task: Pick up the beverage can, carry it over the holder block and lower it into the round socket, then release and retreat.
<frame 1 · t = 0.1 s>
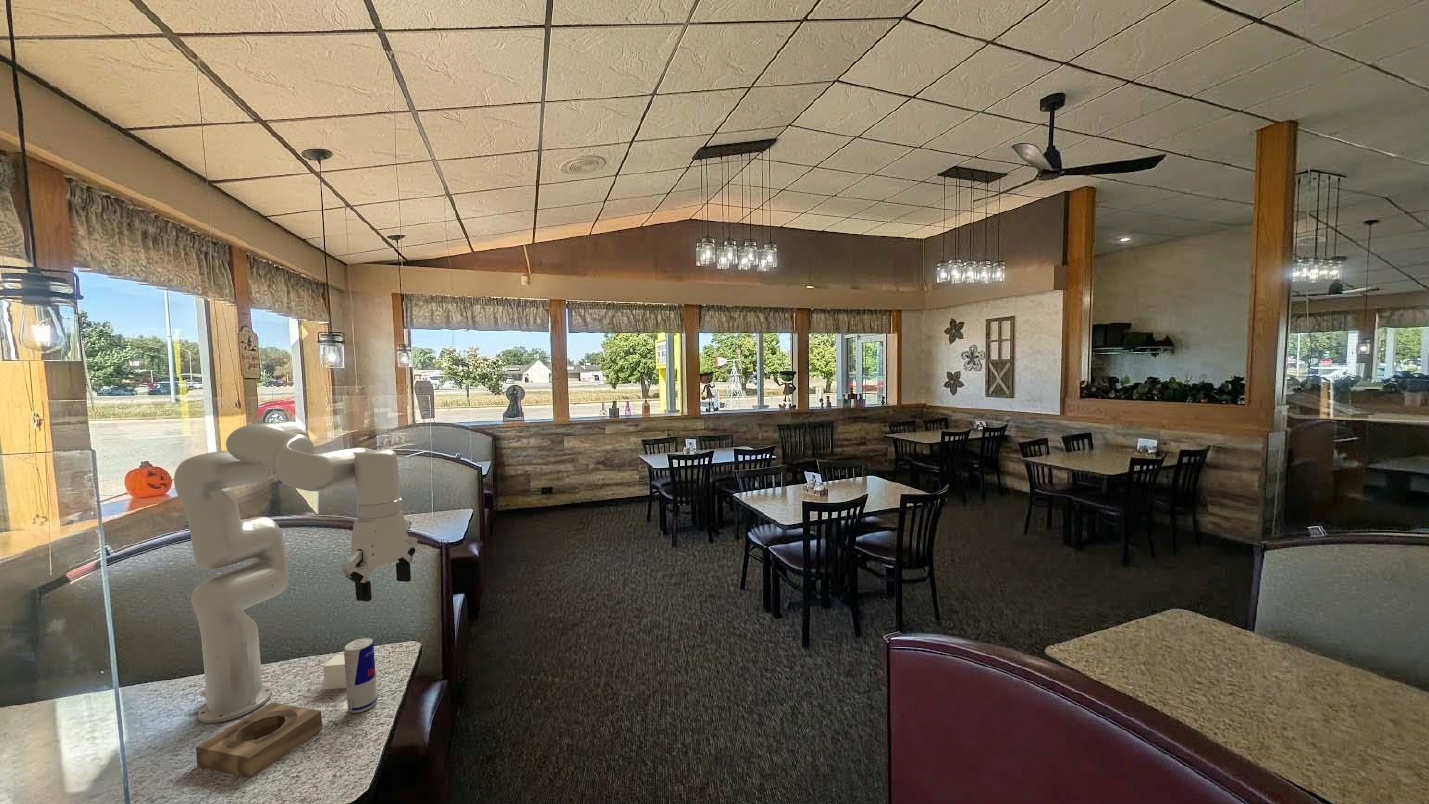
hand: (384, 590, 108), 31 cm above the table, fingers open, 9 cm apart
holder: (262, 746, 107), on the table
beverage can: (363, 707, 120), on the table
white cube: (346, 682, 129), on the table
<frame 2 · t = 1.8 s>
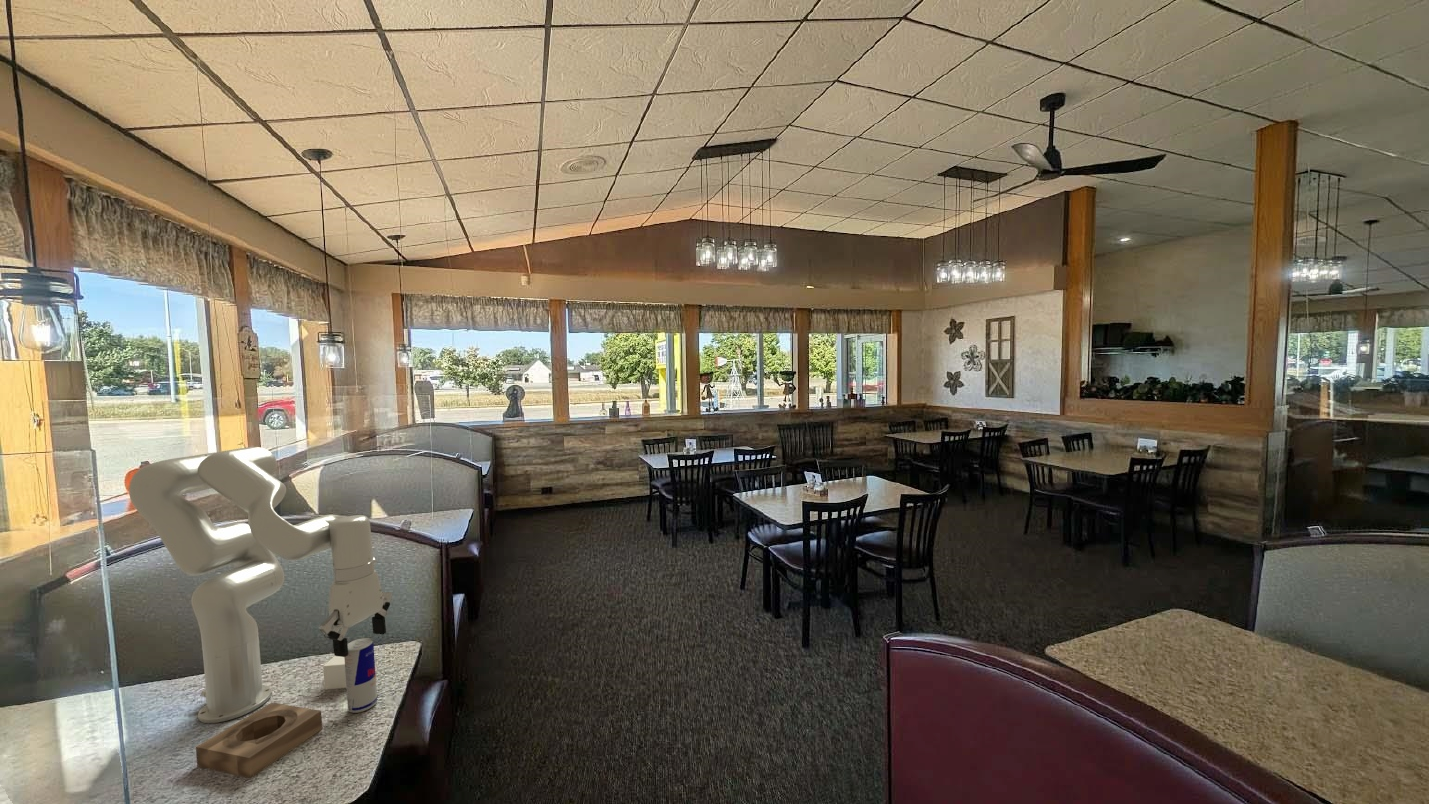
hand: (361, 644, 119), 15 cm above the table, fingers open, 9 cm apart
nothing on the table moved.
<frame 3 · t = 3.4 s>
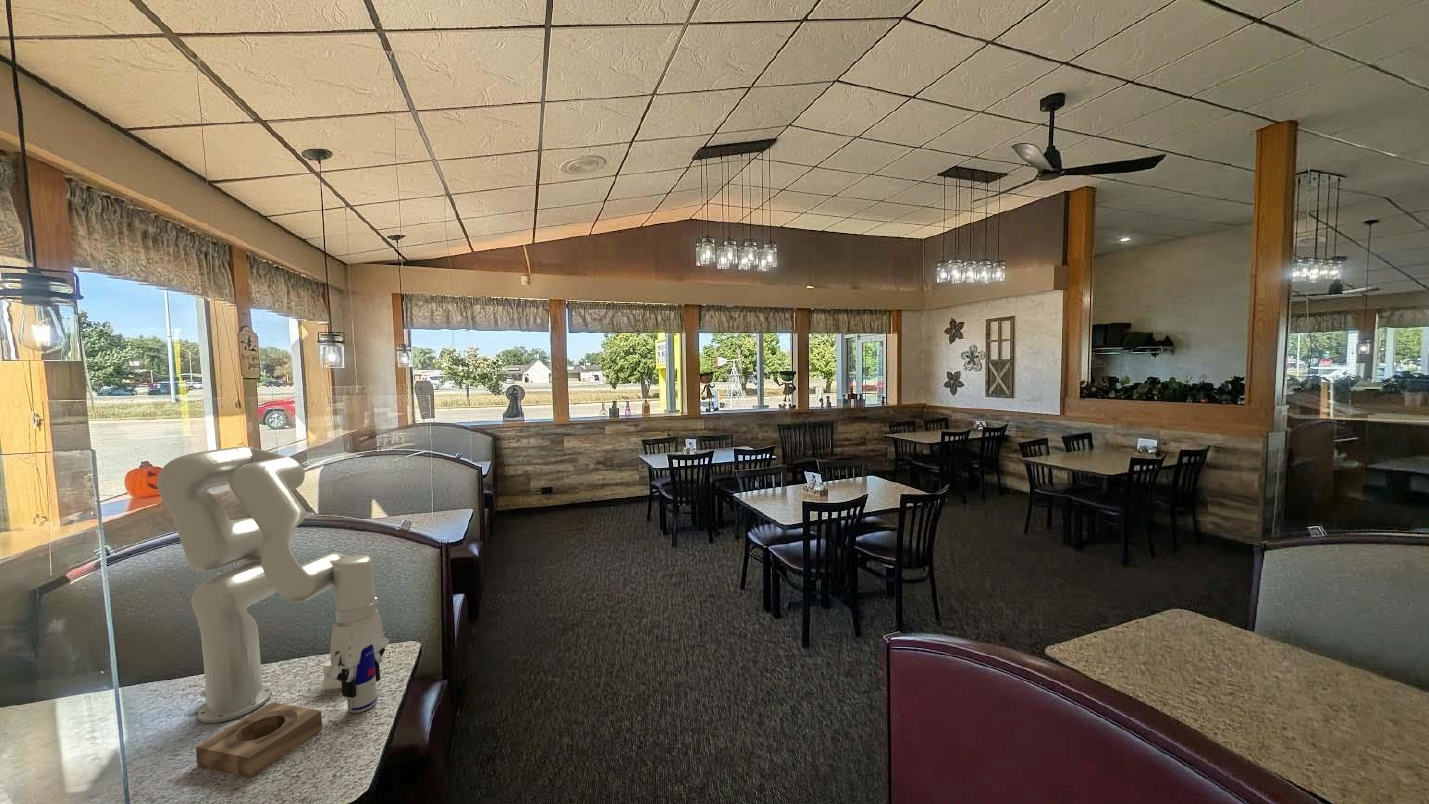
hand: (361, 687, 119), 5 cm above the table, fingers closed on beverage can, 5 cm apart
beverage can: (363, 707, 120), on the table, touching gripper
everything else where it was.
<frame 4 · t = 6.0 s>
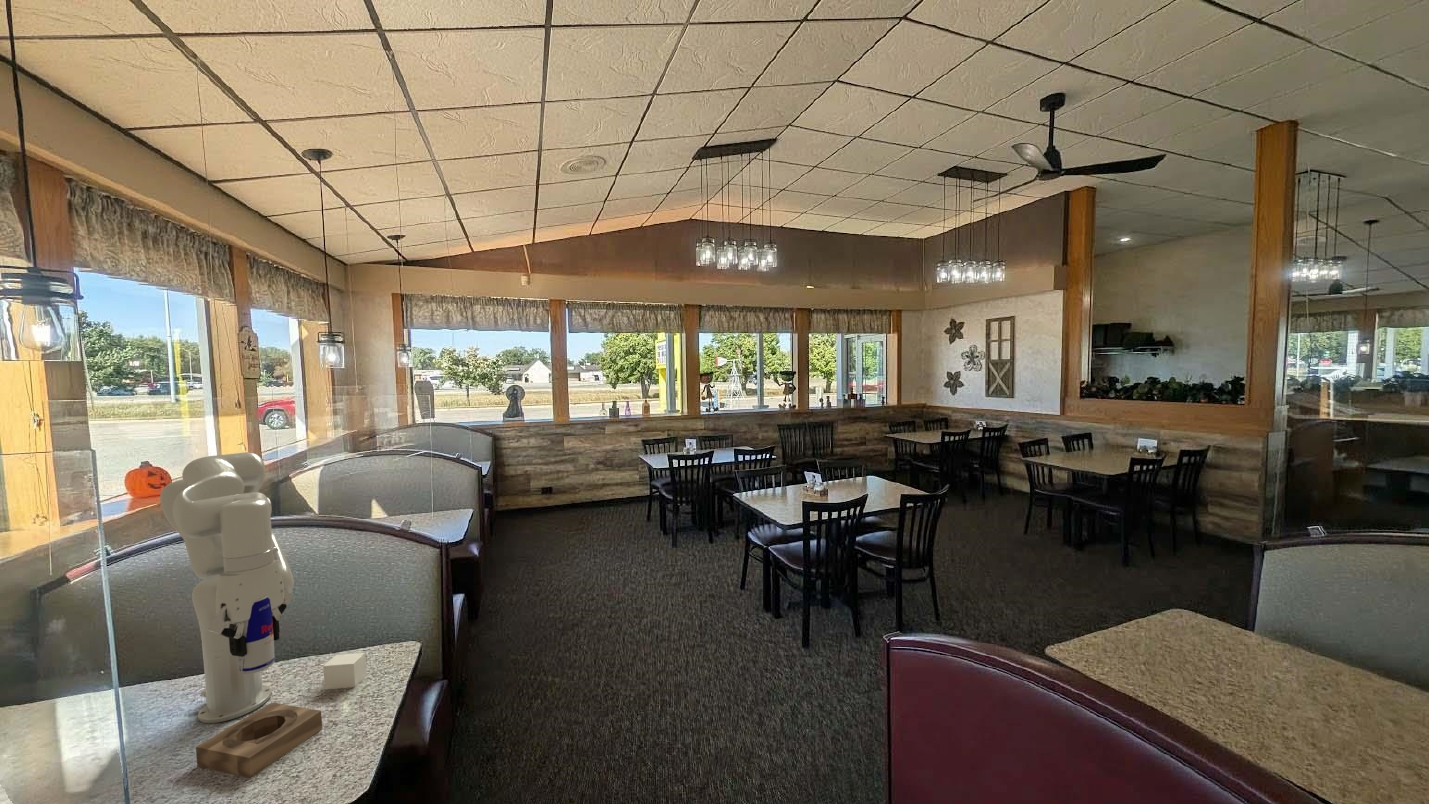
hand: (256, 646, 106), 21 cm above the table, fingers closed on beverage can, 5 cm apart
beverage can: (257, 668, 106), point 17 cm above the table, touching gripper
everything else where it was.
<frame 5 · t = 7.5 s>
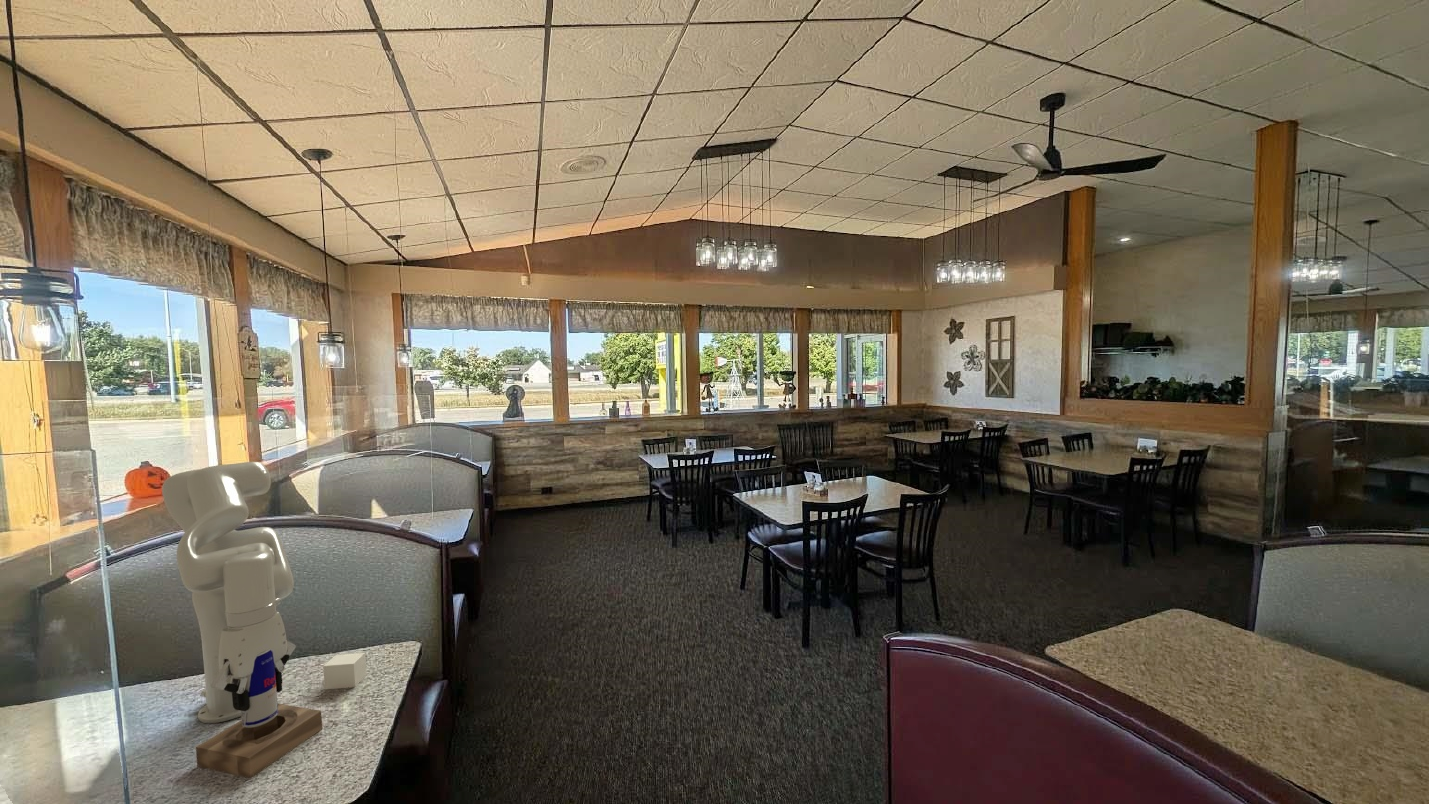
hand: (258, 699, 107), 10 cm above the table, fingers closed on beverage can, 5 cm apart
beverage can: (260, 721, 107), point 5 cm above the table, touching gripper
everything else where it was.
when the fingers open (6 cm above the table, at t = 8.7 s): beverage can drops 2 cm, resting in holder.
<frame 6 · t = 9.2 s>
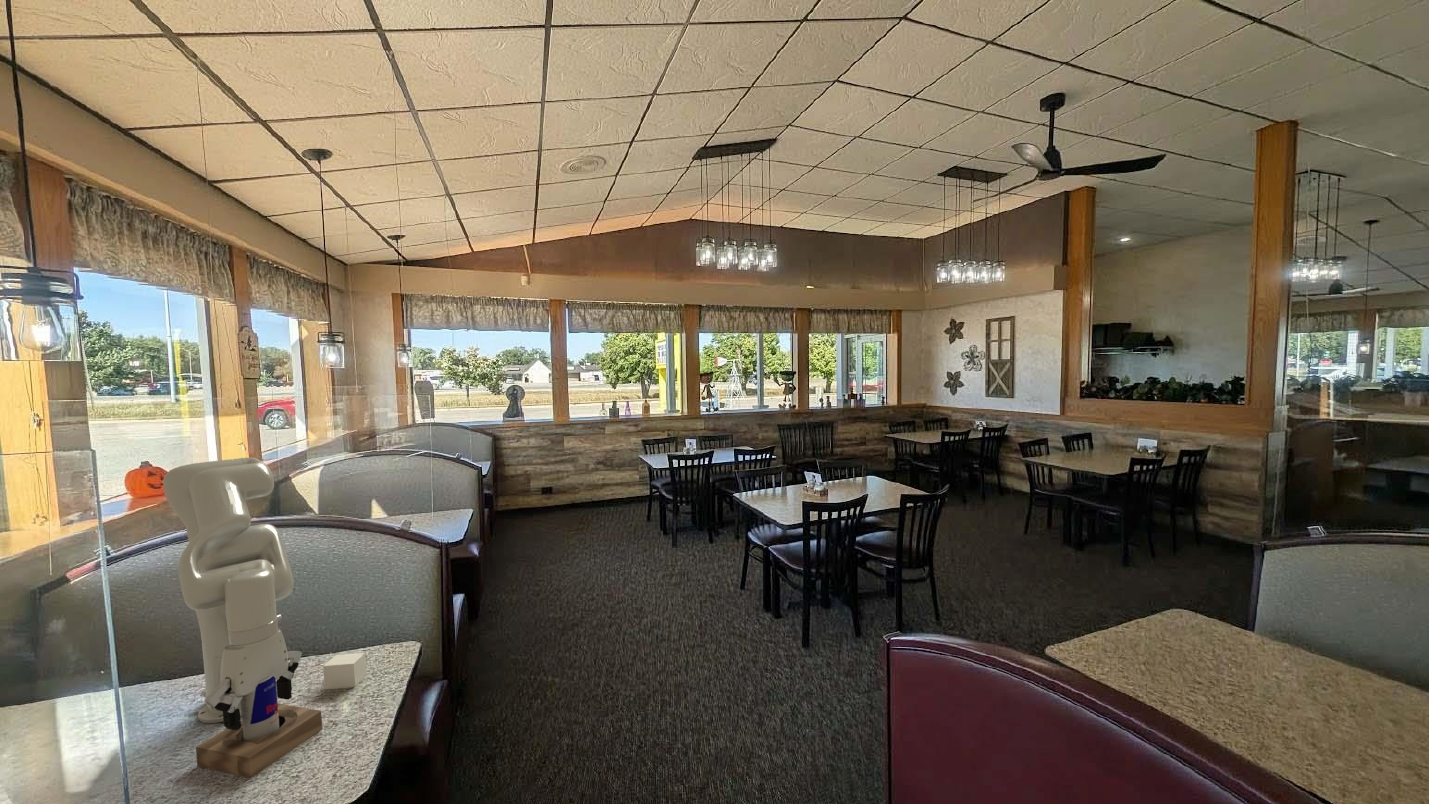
hand: (260, 712, 107), 7 cm above the table, fingers open, 9 cm apart
beverage can: (262, 747, 107), resting in holder
everything else where it was.
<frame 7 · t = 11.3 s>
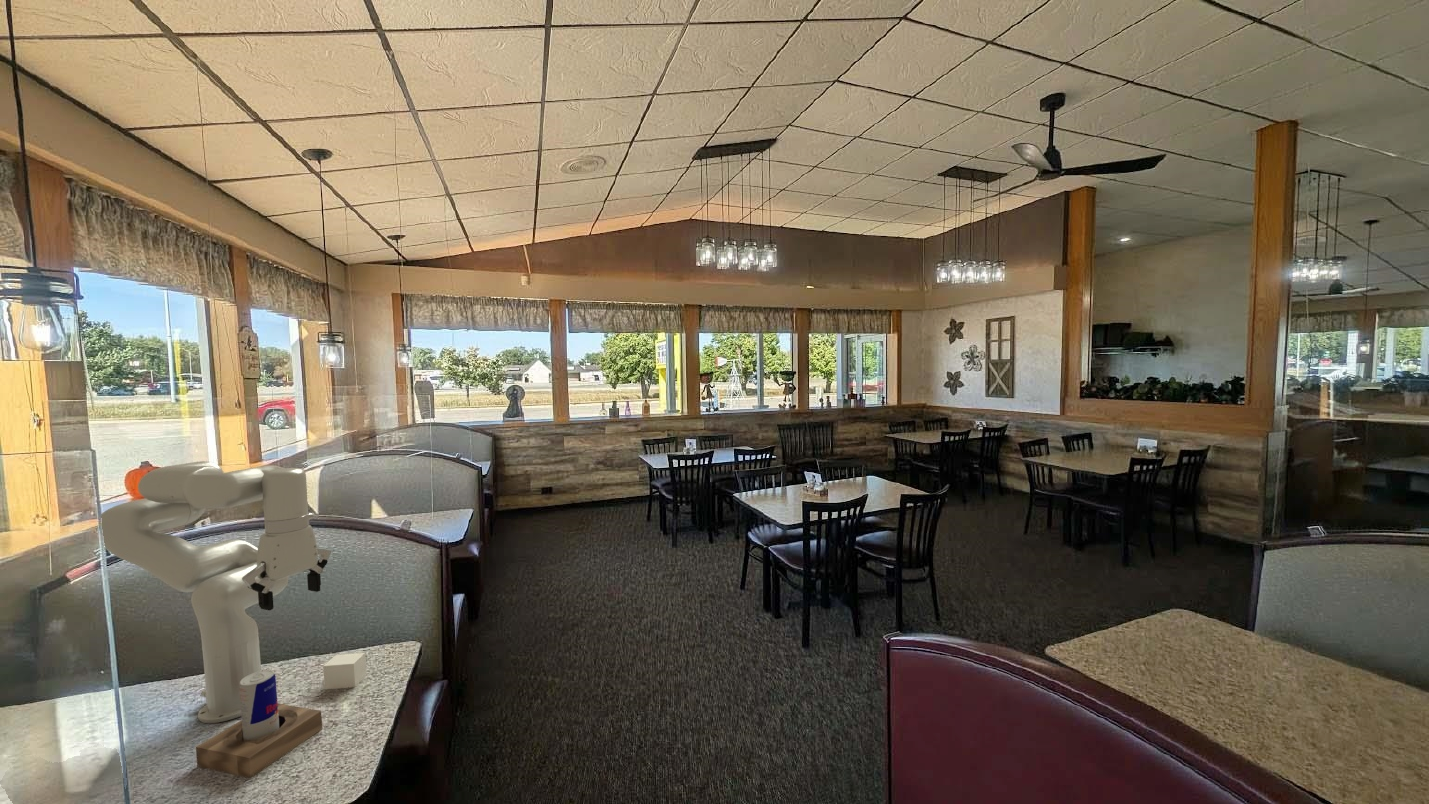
hand: (291, 599, 116), 27 cm above the table, fingers open, 9 cm apart
nothing on the table moved.
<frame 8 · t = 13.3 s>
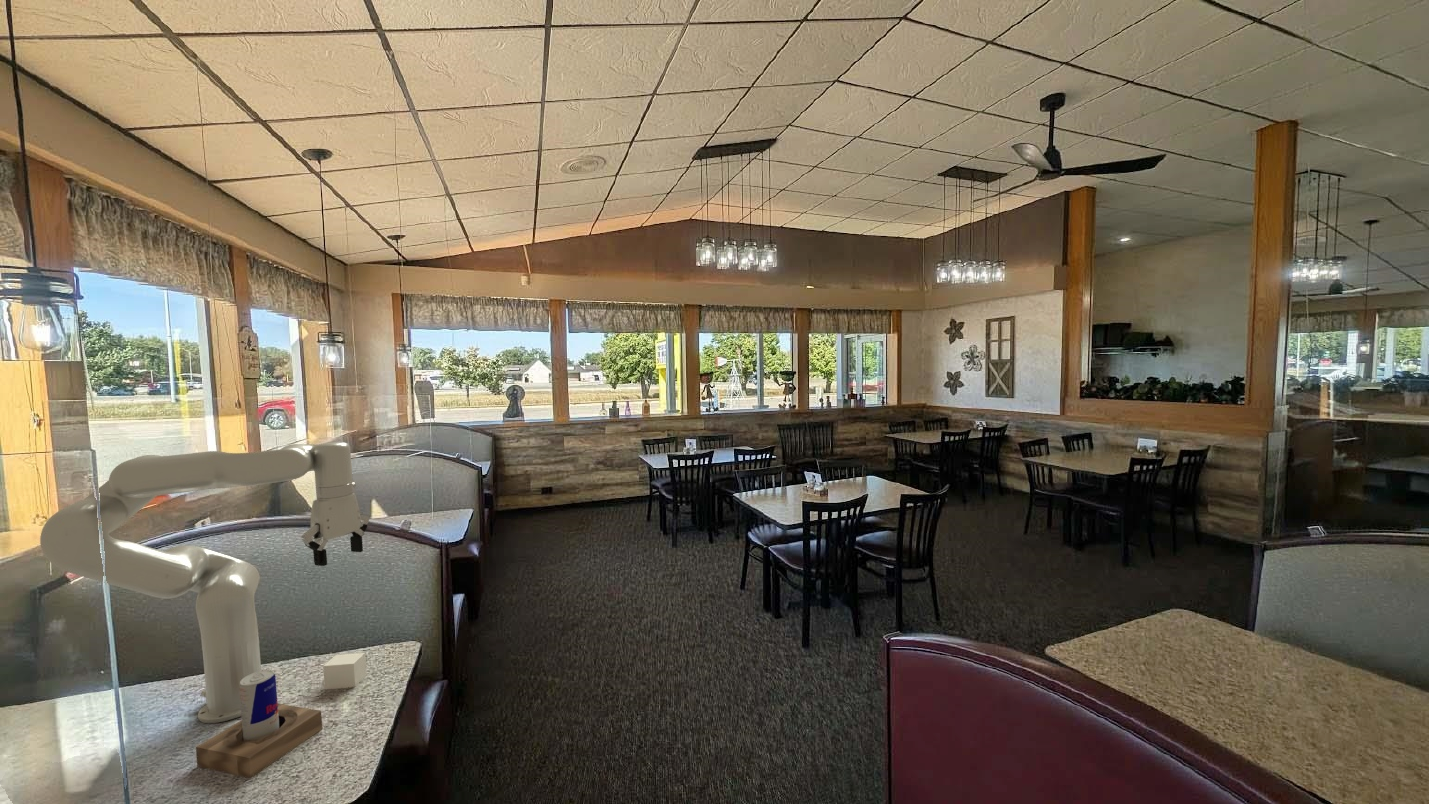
hand: (339, 558, 131), 30 cm above the table, fingers open, 9 cm apart
nothing on the table moved.
at the end: beverage can 0.0 cm off-centre on the holder, point 0.0 cm above the holder's base; beverage can tilted 0°; the gripper is holding nothing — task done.
